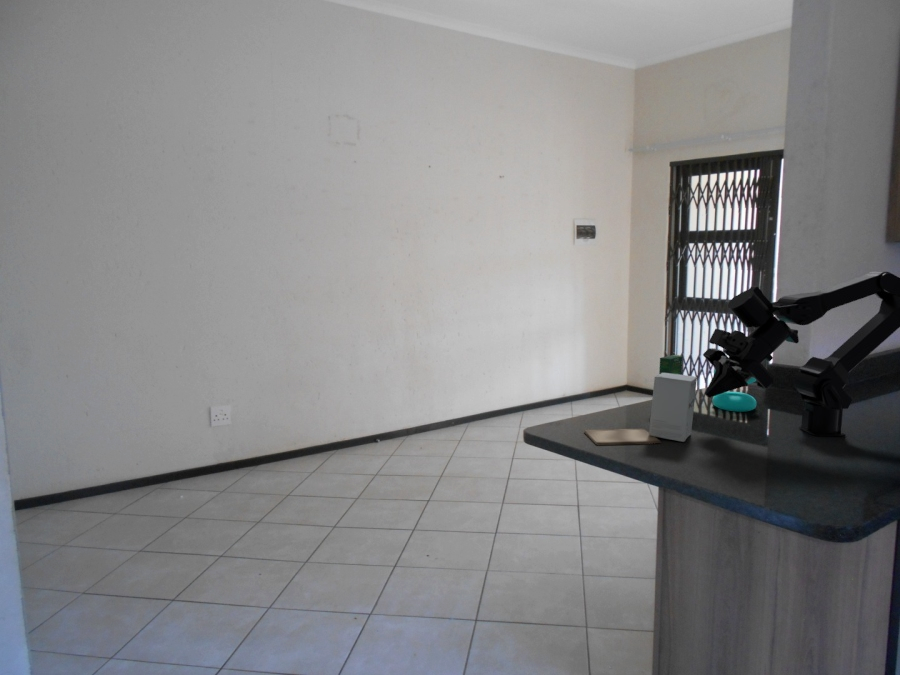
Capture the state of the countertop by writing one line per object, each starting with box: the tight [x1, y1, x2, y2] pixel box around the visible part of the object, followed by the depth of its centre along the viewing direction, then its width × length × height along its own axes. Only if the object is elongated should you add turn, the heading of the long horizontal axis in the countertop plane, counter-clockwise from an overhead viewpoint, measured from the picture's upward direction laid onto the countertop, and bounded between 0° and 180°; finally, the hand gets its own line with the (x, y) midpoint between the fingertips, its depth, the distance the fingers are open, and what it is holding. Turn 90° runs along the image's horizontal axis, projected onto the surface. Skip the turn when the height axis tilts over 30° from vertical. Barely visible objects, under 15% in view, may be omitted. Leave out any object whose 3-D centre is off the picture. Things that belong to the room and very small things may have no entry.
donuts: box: [712, 369, 758, 413], centre depth 151 cm, size 10×10×10 cm
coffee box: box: [658, 354, 684, 375], centre depth 151 cm, size 8×3×13 cm, turn 137°
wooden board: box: [583, 428, 661, 446], centre depth 127 cm, size 13×9×1 cm
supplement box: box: [648, 373, 698, 443], centre depth 126 cm, size 7×7×13 cm
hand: (706, 395), depth 127 cm, fingers closed
